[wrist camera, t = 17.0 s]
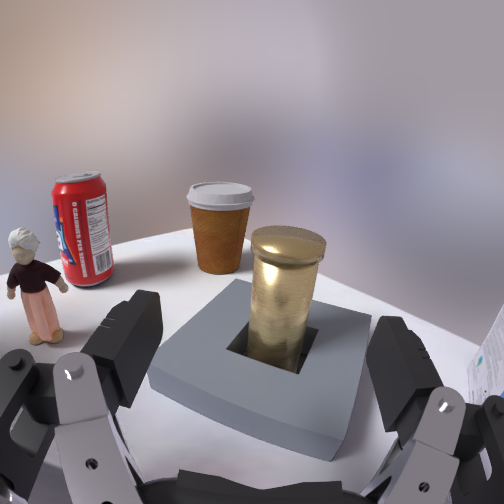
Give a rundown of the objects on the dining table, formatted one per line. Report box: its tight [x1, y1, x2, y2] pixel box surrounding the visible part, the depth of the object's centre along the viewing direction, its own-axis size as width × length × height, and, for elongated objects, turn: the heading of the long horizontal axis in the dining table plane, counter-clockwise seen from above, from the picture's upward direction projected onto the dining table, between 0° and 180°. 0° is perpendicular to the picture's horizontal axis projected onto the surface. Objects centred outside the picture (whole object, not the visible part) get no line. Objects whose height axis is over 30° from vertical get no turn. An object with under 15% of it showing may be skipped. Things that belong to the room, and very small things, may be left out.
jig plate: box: [147, 279, 372, 462], centre depth 26 cm, size 16×16×4 cm
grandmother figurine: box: [7, 227, 68, 345], centre depth 23 cm, size 8×4×13 cm, turn 124°
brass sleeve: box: [247, 226, 326, 374], centre depth 24 cm, size 5×5×13 cm
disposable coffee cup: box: [187, 182, 254, 274], centre depth 43 cm, size 10×10×12 cm
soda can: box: [52, 171, 114, 287], centre depth 36 cm, size 8×8×15 cm
